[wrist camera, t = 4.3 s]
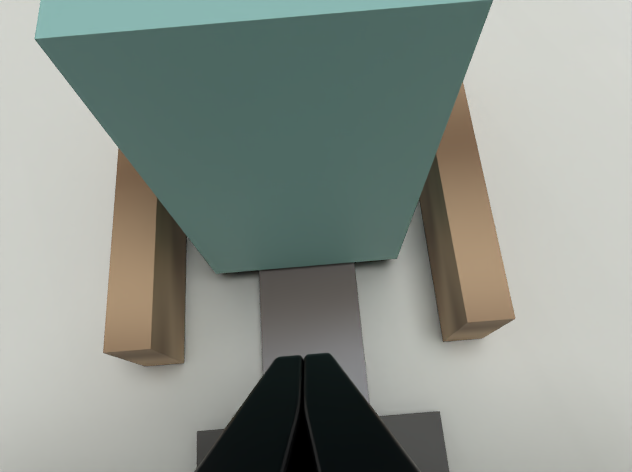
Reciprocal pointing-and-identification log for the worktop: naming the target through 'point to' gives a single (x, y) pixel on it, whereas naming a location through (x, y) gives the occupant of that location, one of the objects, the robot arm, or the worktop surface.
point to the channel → (316, 285)
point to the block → (272, 113)
